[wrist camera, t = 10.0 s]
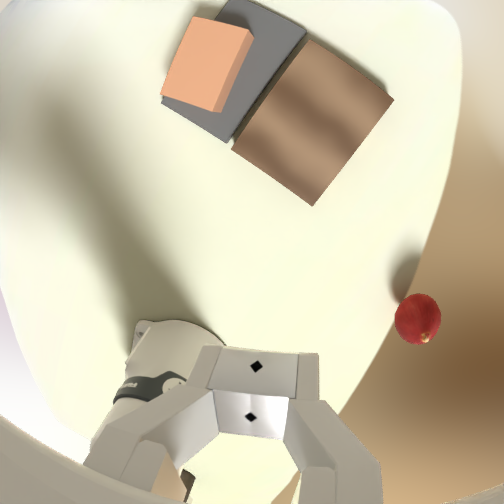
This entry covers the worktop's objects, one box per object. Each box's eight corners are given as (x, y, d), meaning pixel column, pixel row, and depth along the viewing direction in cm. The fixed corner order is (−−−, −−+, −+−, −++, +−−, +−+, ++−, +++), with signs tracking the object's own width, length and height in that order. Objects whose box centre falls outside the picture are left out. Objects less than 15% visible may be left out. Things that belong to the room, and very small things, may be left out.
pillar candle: (200, 477, 68) (185, 517, 54) (188, 482, 72) (173, 518, 58) (171, 463, 67) (153, 503, 54) (160, 468, 71) (144, 505, 58)
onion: (436, 305, 33) (456, 344, 26) (400, 327, 36) (413, 368, 29) (420, 273, 32) (442, 310, 25) (382, 297, 35) (394, 338, 27)
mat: (227, 142, 31) (225, 143, 30) (163, 103, 30) (160, 103, 29) (306, 32, 24) (306, 30, 23) (235, -3, 23) (233, -6, 23)
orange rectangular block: (221, 112, 29) (212, 111, 26) (172, 95, 29) (159, 94, 26) (254, 37, 25) (248, 29, 22) (203, 24, 25) (193, 16, 22)
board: (312, 201, 32) (312, 206, 30) (235, 147, 31) (230, 149, 29) (389, 101, 25) (394, 99, 24) (309, 44, 25) (309, 39, 23)
